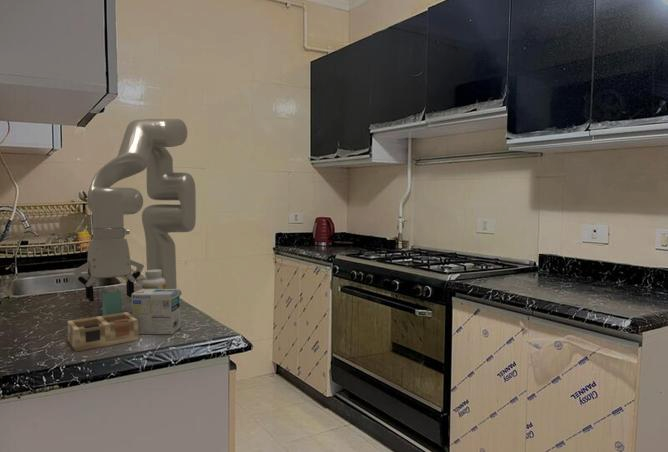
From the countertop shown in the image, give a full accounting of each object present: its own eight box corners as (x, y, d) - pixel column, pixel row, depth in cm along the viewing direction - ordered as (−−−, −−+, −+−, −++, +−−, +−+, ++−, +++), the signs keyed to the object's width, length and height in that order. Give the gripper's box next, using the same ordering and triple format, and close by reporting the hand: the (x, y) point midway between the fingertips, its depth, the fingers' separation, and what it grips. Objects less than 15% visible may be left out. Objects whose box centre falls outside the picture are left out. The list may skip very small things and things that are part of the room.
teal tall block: (103, 327, 133) (101, 288, 132) (118, 325, 136) (117, 287, 135) (106, 331, 130) (104, 291, 129) (122, 328, 133) (121, 289, 132)
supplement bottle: (160, 308, 153) (158, 267, 152) (170, 312, 149) (169, 270, 148) (139, 312, 148) (137, 270, 147) (149, 316, 144) (148, 273, 143)
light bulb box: (181, 327, 133) (180, 288, 132) (173, 335, 127) (171, 293, 126) (142, 327, 134) (141, 288, 133) (131, 334, 127) (130, 293, 126)
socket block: (68, 340, 122) (67, 319, 122) (127, 330, 130) (126, 310, 130) (76, 351, 114) (75, 329, 113) (138, 340, 122) (138, 319, 122)
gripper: (138, 232, 139) (140, 292, 140) (69, 235, 128) (71, 300, 129) (146, 233, 133) (148, 296, 134) (74, 237, 122) (77, 305, 123)
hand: (110, 298), depth 132 cm, fingers open, 9 cm apart
